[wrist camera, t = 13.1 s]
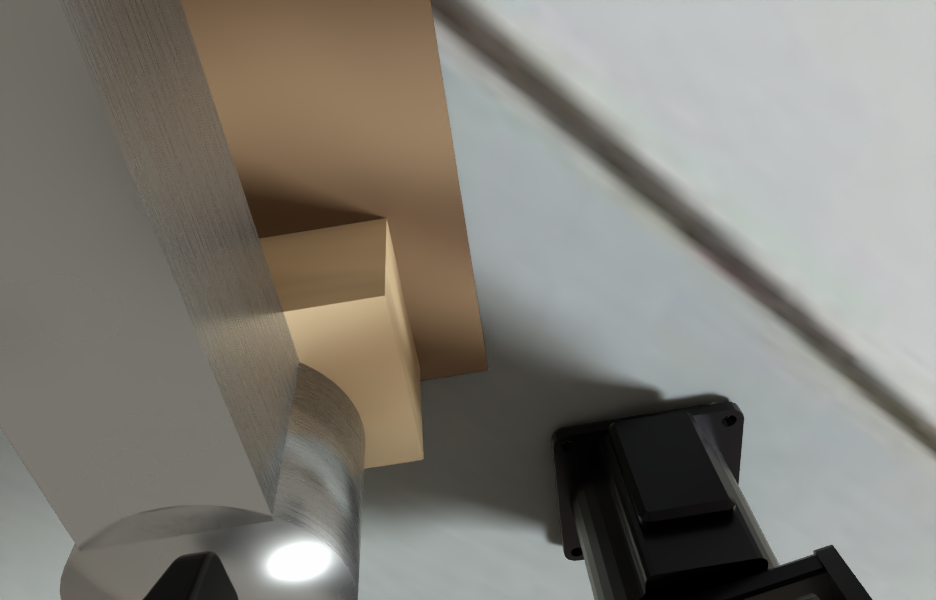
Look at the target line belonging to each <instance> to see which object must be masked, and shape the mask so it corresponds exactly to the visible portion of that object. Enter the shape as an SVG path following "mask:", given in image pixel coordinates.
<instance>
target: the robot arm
mask: <svg viewBox="0 0 936 600" xmlns="http://www.w3.org/2000/svg"><path fill="white" fill-rule="evenodd" d="M729 415H730V416H729ZM726 416H729V417H728V418H725V417H726ZM724 418H725V419H724ZM743 424H744V416H743V413H742V412H741V410H740V408H739V407H738V406H737V405H736V404H735V403H733V402H723V403H716V404H710V405H704V406H698V407H691V408H685V409H679V410H673V411H666V412H660V413H654V414H648V415H641V416H635V417H629V418H622V419H616V420H610V421H604V422H597V423H591V424H585V425H579V426H572V427H566V428H562V429H559V430H558V431H556V432H555V433H554V434H553V436H552V439H551V443H552V453H553V462H554V472H555V481H556V491H557V500H558V509H559V519H560V528H561V538H562V546H563V551H564V555H565V557H566V558H567V559H569V560H573V561H576V560H585V564H586V568H587V572H588V576H589V580H590V583H591V587H592V591H593V595H594V599H595V600H872V598H871V597H870V596H869V594H868V593H867V592H866V590H865V589H864V587H863V586H862V585H861V583H860V582H859V581H858V579H857V578H856V576H855V575H854V574H853V572H852V571H851V570H850V568H849V567H848V566H847V564H846V563H845V561H844V560H843V559H842V557H841V556H840V555H839V553H838V552H837V550H836V549H835V548H834V546H833V545H829V546H826V547H823V548H820V549H817V550H814V551H813V553H814V554H813V555H810V556H807V557H804V558H801V559H798V560H795V561H792V562H789V563H786V564H783V565H779V563H778V561H777V559H776V558H775V556H774V554H773V552H772V550H771V548H770V546H769V544H768V542H767V540H766V538H765V536H764V534H763V532H762V530H761V528H760V527H759V525H758V523H757V521H756V519H755V517H754V515H753V513H752V511H751V509H750V507H749V505H748V503H747V501H746V499H745V497H744V496H743V494H742V492H741V490H740V488H739V486H738V483H739V471H740V459H741V447H742V435H743ZM566 441H571V442H570V443H568V444H563V443H564V442H566ZM142 600H239V599H238V595H237V592H236V590H235V588H234V586H233V584H232V582H231V580H230V578H229V576H228V574H227V572H226V570H225V568H224V566H223V564H222V562H221V560H220V558H219V556H218V555H217V554H216V553H215V552H213V551H204V552H198V553H191V554H185V555H182V556H179V557H178V558H177V559H175V560H174V561H173V562H172V563H171V565H170V566H169V567H168V568H167V570H166V571H165V572H164V573H163V575H162V576H161V577H160V578H159V580H158V581H157V582H156V583H155V585H154V586H153V587H152V588H151V589H150V591H149V592H148V593H147V594H146V596H145V597H144V598H143V599H142Z"/></svg>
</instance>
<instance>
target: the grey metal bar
mask: <svg viewBox="0 0 936 600" xmlns="http://www.w3.org/2000/svg"><path fill="white" fill-rule="evenodd" d="M0 428H1V429H2V431H3V432H4V434H5V435H6V437H7V438H8V440H9V442H10V443H11V445H12V446H13V448H14V449H15V451H16V452H17V454H18V455H19V457H20V459H21V460H22V462H23V463H24V465H25V466H26V468H27V469H28V471H29V472H30V474H31V476H32V477H33V479H34V480H35V482H36V483H37V485H38V486H39V488H40V489H41V491H42V493H43V494H44V496H45V497H46V499H47V500H48V502H49V503H50V505H51V506H52V508H53V510H54V511H55V513H56V514H57V516H58V517H59V519H60V520H61V522H62V523H63V525H64V527H65V528H66V530H67V531H68V533H69V534H70V536H71V537H72V539H73V541H74V542H75V545H74V547H73V549H72V551H71V554H70V556H69V558H68V560H67V563H66V565H65V567H64V570H63V574H62V577H61V584H60V595H61V600H142V599H143V598H144V597H145V596H146V594H147V593H148V592H149V591H150V589H151V588H152V587H153V586H154V585H155V583H156V582H157V581H158V580H159V578H160V577H161V576H162V575H163V573H164V572H165V571H166V570H167V568H168V567H169V566H170V565H171V563H172V562H173V561H174V560H175V559H177V558H178V557H179V556H182V555H185V554H191V553H198V552H204V551H213V552H215V553H216V554H217V555H218V556H219V558H220V560H221V562H222V564H223V566H224V568H225V570H226V572H227V574H228V576H229V578H230V580H231V582H232V584H233V586H234V588H235V590H236V592H237V595H238V599H239V600H358V582H359V563H360V543H361V523H362V503H363V483H364V463H365V432H364V427H363V423H362V420H361V418H360V415H359V413H358V411H357V409H356V407H355V406H354V404H353V402H352V401H351V400H350V398H349V397H348V396H347V395H346V393H345V392H344V391H343V390H342V389H341V388H340V387H339V386H337V385H336V384H335V383H334V382H333V381H332V380H330V379H329V378H328V377H326V376H325V375H323V374H322V373H320V372H318V371H317V370H315V369H313V368H311V367H309V366H307V365H305V364H303V363H300V361H299V358H298V355H297V352H296V349H295V346H294V343H293V340H292V337H291V334H290V331H289V328H288V325H287V322H286V319H285V316H284V313H283V310H282V307H281V303H280V300H279V297H278V294H277V291H276V288H275V285H274V282H273V279H272V276H271V273H270V270H269V267H268V264H267V261H266V258H265V255H264V252H263V249H262V246H261V243H260V240H259V237H258V234H257V231H256V228H255V225H254V222H253V219H252V216H251V213H250V210H249V207H248V203H247V200H246V197H245V194H244V191H243V188H242V185H241V182H240V179H239V176H238V173H237V170H236V167H235V164H234V161H233V158H232V155H231V152H230V149H229V146H228V143H227V140H226V137H225V134H224V131H223V128H222V125H221V122H220V119H219V116H218V113H217V110H216V106H215V103H214V100H213V97H212V94H211V91H210V88H209V85H208V82H207V79H206V76H205V73H204V70H203V67H202V64H201V61H200V58H199V55H198V52H197V49H196V46H195V43H194V40H193V37H192V34H191V31H190V28H189V25H188V22H187V19H186V16H185V13H184V10H183V6H182V3H181V0H0Z"/></svg>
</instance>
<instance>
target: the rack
mask: <svg viewBox="0 0 936 600" xmlns="http://www.w3.org/2000/svg"><path fill="white" fill-rule="evenodd" d="M181 3H182V6H183V10H184V13H185V16H186V19H187V22H188V25H189V28H190V31H191V34H192V37H193V40H194V43H195V46H196V49H197V52H198V55H199V58H200V61H201V64H202V67H203V70H204V73H205V76H206V79H207V82H208V85H209V88H210V91H211V94H212V97H213V100H214V103H215V106H216V110H217V113H218V116H219V119H220V122H221V125H222V128H223V131H224V134H225V137H226V140H227V143H228V146H229V149H230V152H231V155H232V158H233V161H234V164H235V167H236V170H237V173H238V176H239V179H240V182H241V185H242V188H243V191H244V194H245V197H246V200H247V203H248V207H249V210H250V213H251V216H252V219H253V222H254V225H255V228H256V231H257V234H258V237H259V240H260V243H261V246H262V249H263V252H264V255H265V258H266V261H267V264H268V267H269V270H270V273H271V276H272V279H273V282H274V285H275V288H276V291H277V294H278V297H279V300H280V303H281V307H282V310H283V313H284V316H285V319H286V322H287V325H288V328H289V331H290V334H291V337H292V340H293V343H294V346H295V349H296V352H297V355H298V358H299V361H300V363H303V364H305V365H307V366H309V367H311V368H313V369H315V370H317V371H318V372H320V373H322V374H323V375H325V376H326V377H328V378H329V379H330V380H332V381H333V382H334V383H335V384H336V385H337V386H339V387H340V388H341V389H342V390H343V391H344V392H345V393H346V395H347V396H348V397H349V398H350V400H351V401H352V402H353V404H354V406H355V407H356V409H357V411H358V413H359V415H360V418H361V420H362V423H363V427H364V432H365V463H364V469H368V468H374V467H380V466H387V465H393V464H399V463H405V462H412V461H418V460H424V454H423V430H422V407H421V384H420V381H425V380H431V379H437V378H443V377H450V376H456V375H462V374H468V373H474V372H481V371H487V370H488V364H487V358H486V351H485V345H484V339H483V332H482V326H481V320H480V313H479V307H478V301H477V294H476V288H475V282H474V275H473V269H472V262H471V256H470V250H469V243H468V237H467V231H466V224H465V218H464V212H463V205H462V199H461V193H460V186H459V180H458V174H457V167H456V161H455V155H454V148H453V142H452V136H451V129H450V123H449V117H448V110H447V104H446V98H445V91H444V85H443V79H442V72H441V66H440V59H439V53H438V47H437V40H436V34H435V28H434V21H433V15H432V9H431V2H430V0H181Z"/></svg>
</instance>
